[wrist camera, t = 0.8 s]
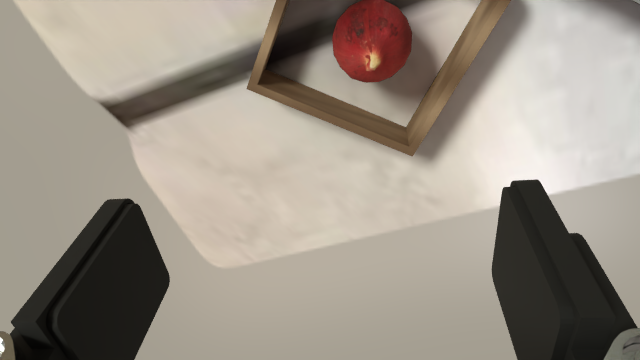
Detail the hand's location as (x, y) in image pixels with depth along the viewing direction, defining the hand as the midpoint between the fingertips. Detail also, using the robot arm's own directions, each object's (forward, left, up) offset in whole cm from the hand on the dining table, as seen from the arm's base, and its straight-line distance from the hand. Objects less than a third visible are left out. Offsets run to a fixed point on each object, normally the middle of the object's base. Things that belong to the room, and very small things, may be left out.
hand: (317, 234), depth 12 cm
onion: (+2, +3, -28) cm, 29 cm away
